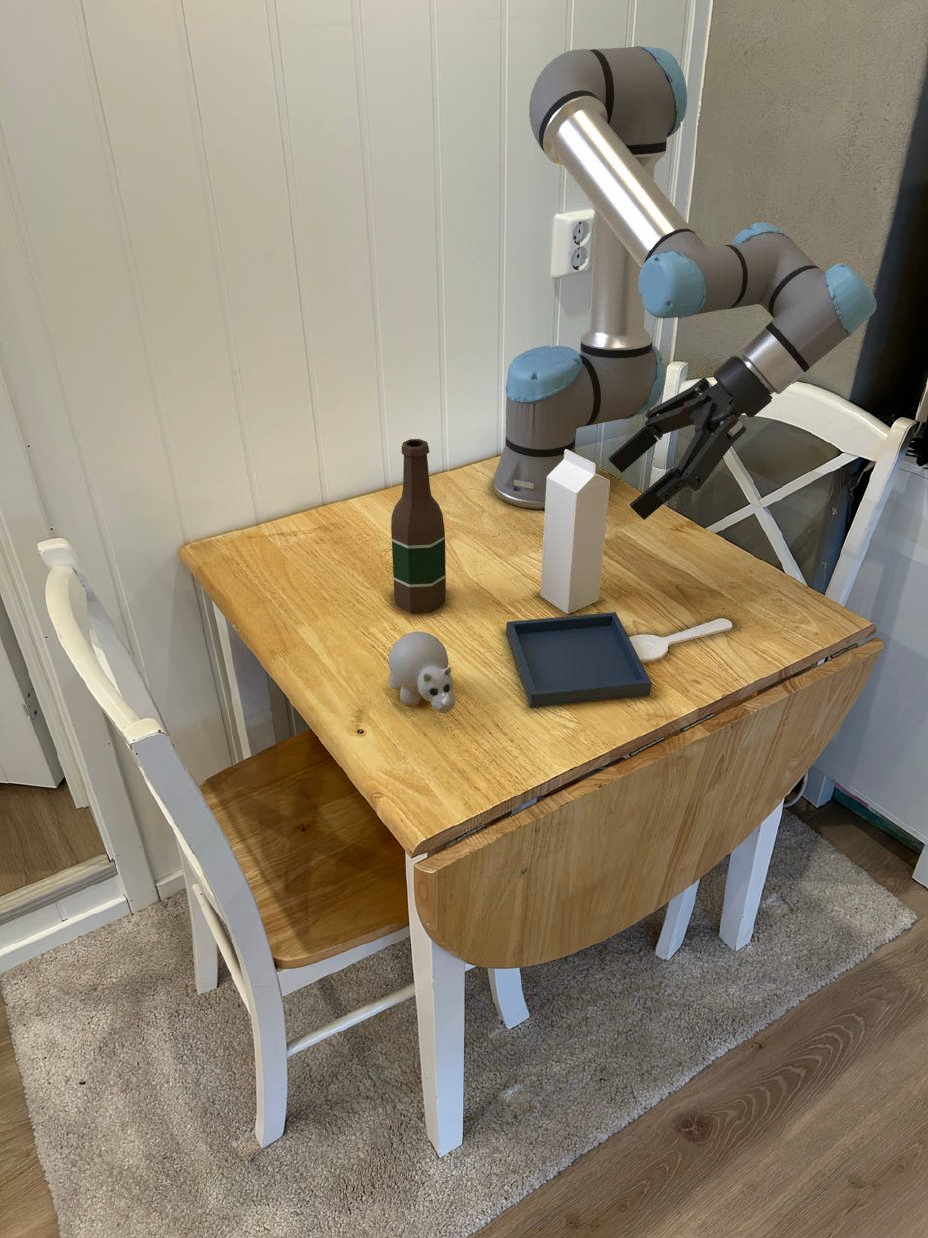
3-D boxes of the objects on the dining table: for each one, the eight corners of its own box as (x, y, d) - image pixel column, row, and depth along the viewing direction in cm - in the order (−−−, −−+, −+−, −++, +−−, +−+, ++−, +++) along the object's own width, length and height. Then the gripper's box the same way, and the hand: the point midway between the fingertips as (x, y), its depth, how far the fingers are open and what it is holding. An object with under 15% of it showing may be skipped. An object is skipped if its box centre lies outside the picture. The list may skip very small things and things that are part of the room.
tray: (506, 634, 129) (506, 621, 128) (614, 624, 131) (615, 611, 129) (530, 708, 116) (531, 694, 115) (650, 695, 118) (652, 682, 117)
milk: (567, 615, 133) (578, 471, 120) (539, 596, 137) (546, 454, 124) (599, 600, 136) (613, 458, 123) (571, 582, 140) (581, 442, 127)
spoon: (742, 634, 129) (743, 630, 129) (629, 668, 123) (629, 665, 122) (717, 613, 133) (718, 610, 133) (606, 646, 127) (607, 642, 126)
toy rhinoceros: (418, 742, 111) (416, 685, 106) (381, 683, 120) (378, 628, 115) (474, 725, 113) (474, 668, 109) (434, 669, 122) (433, 614, 118)
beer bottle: (454, 590, 138) (453, 434, 124) (436, 619, 132) (433, 459, 118) (404, 581, 140) (397, 427, 126) (384, 609, 134) (375, 451, 120)
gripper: (809, 435, 110) (666, 552, 118) (742, 360, 131) (623, 464, 138) (773, 392, 107) (627, 515, 115) (709, 322, 127) (589, 431, 135)
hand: (625, 488), depth 126 cm, fingers open, 13 cm apart
